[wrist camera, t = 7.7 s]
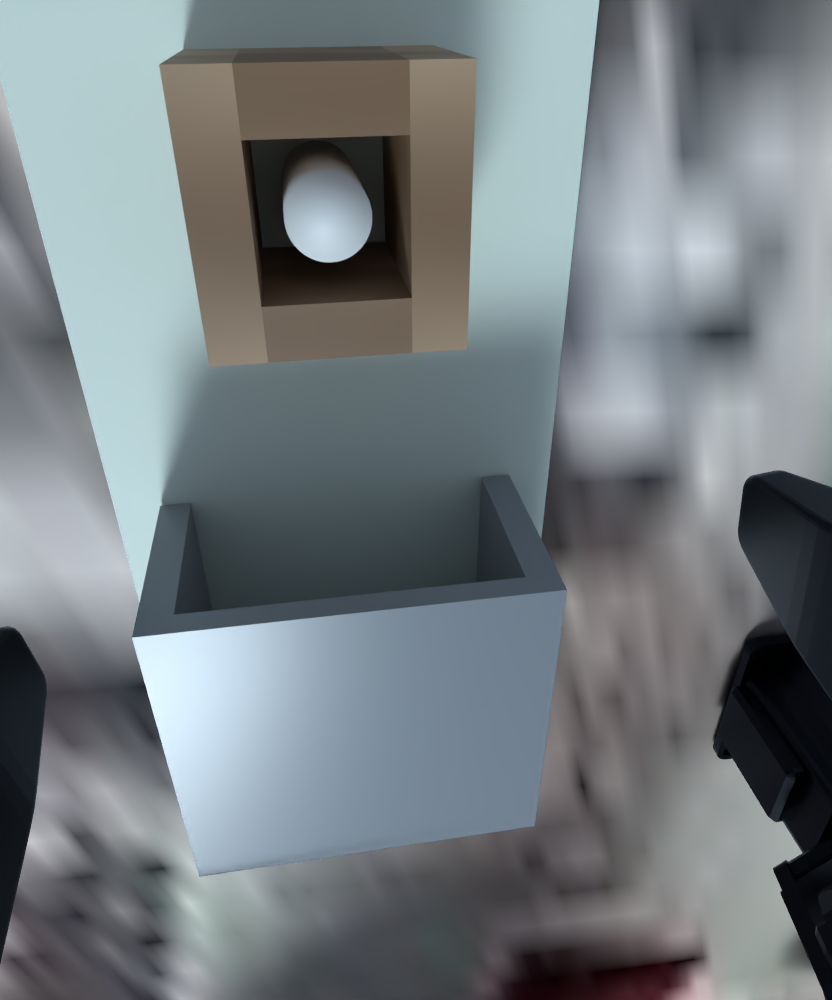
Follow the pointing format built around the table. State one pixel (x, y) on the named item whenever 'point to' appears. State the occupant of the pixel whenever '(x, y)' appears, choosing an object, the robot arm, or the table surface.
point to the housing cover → (353, 701)
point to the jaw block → (407, 198)
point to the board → (322, 237)
